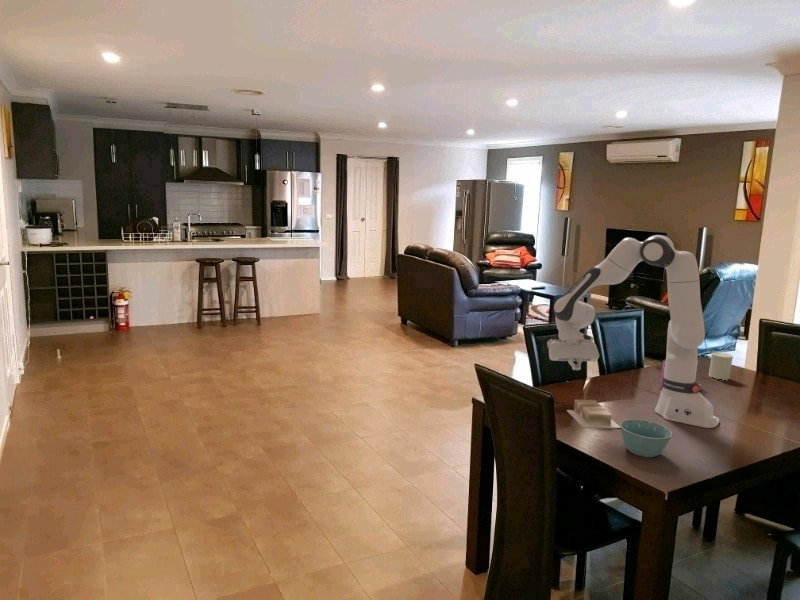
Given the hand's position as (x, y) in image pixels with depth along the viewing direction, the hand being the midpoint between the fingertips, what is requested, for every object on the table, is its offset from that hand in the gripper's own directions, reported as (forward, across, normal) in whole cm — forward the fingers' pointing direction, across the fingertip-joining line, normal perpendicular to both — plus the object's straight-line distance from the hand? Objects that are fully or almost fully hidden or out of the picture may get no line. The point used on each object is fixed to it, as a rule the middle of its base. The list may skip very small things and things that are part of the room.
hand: (576, 369), depth 238 cm
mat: (+24, 0, -6) cm, 25 cm away
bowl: (+44, +5, -25) cm, 51 cm away
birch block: (+16, 0, -1) cm, 16 cm away
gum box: (-6, +56, +26) cm, 62 cm away
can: (-18, +86, +38) cm, 96 cm away
